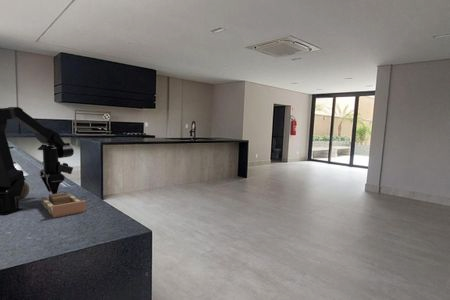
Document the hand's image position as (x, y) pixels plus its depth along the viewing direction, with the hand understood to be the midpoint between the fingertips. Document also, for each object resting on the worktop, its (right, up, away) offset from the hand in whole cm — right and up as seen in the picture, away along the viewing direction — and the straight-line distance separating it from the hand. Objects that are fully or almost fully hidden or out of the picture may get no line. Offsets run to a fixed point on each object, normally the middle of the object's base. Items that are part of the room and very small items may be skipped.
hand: (52, 193), depth 123 cm
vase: (-15, -2, 0) cm, 15 cm away
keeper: (+9, -3, -9) cm, 13 cm away
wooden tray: (+12, -3, -12) cm, 18 cm away
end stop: (+19, -4, -20) cm, 28 cm away
